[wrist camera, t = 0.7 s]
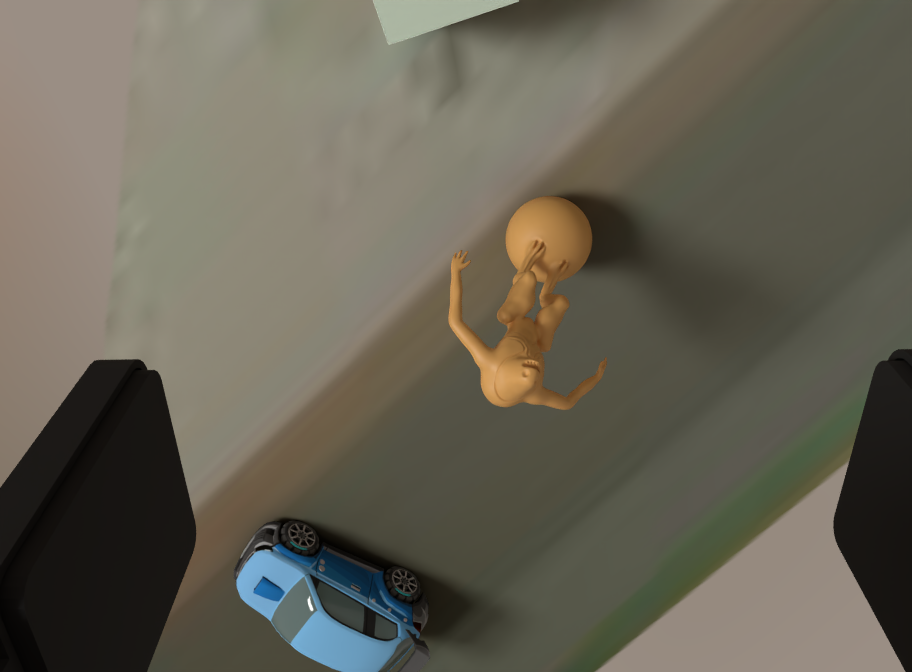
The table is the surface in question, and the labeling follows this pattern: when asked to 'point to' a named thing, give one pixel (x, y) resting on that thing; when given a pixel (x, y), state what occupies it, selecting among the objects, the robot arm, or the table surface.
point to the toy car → (333, 601)
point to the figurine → (529, 303)
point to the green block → (428, 15)
